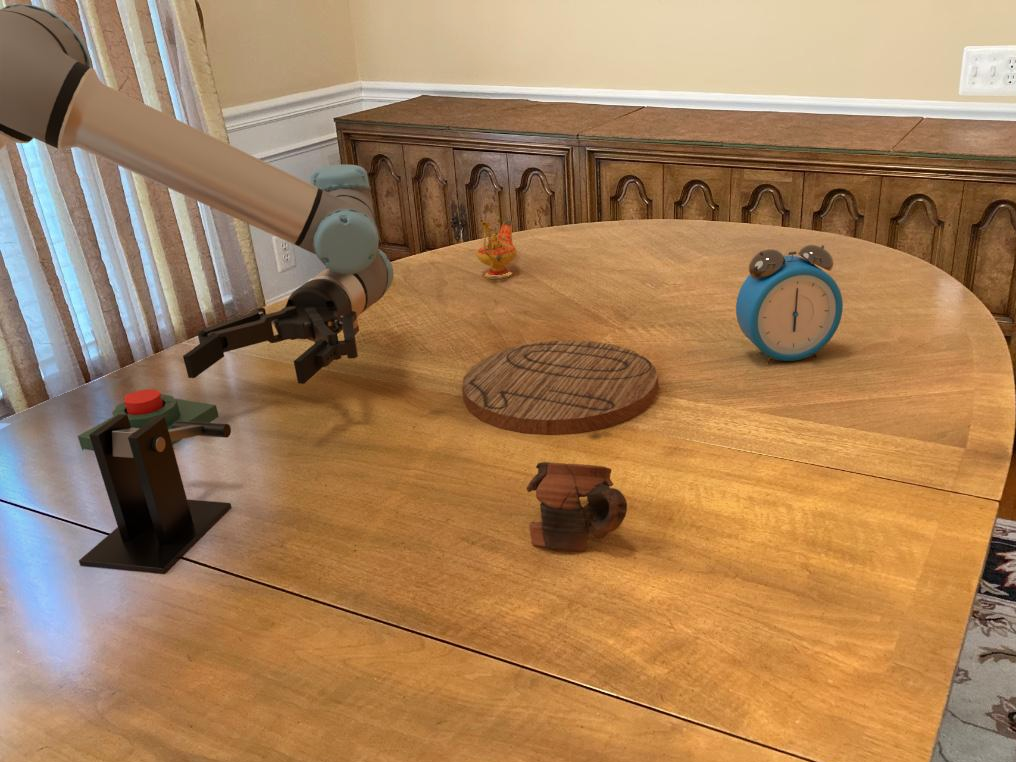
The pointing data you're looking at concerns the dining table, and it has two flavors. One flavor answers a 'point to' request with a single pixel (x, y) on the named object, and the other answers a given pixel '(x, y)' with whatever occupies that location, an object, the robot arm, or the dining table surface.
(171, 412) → the button block
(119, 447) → the lever
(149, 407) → the button
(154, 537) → the bracket
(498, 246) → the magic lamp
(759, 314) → the alarm clock
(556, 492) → the pottery mug
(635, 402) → the trivet
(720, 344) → the dining table surface
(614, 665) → the dining table surface
